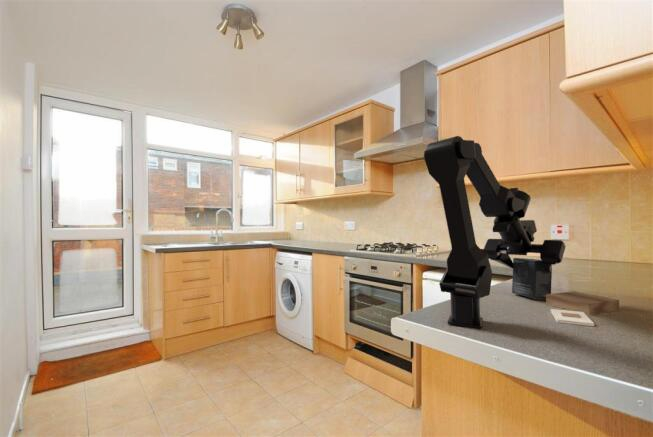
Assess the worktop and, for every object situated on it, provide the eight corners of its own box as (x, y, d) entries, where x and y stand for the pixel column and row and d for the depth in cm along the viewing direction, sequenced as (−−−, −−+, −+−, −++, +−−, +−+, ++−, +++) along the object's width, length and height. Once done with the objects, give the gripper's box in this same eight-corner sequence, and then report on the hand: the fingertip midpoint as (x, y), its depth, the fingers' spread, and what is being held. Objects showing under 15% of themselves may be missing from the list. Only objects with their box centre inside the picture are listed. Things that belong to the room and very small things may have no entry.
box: (551, 299, 83) (552, 261, 83) (533, 299, 82) (535, 260, 82) (527, 293, 91) (529, 258, 91) (511, 293, 90) (512, 257, 90)
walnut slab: (589, 314, 69) (588, 303, 69) (546, 304, 78) (545, 294, 79) (619, 310, 72) (619, 299, 72) (574, 300, 81) (574, 291, 81)
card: (594, 326, 61) (594, 322, 61) (557, 322, 64) (557, 318, 64) (583, 314, 69) (583, 311, 69) (550, 311, 72) (550, 308, 72)
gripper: (561, 208, 76) (577, 249, 82) (485, 211, 91) (504, 246, 98) (550, 241, 71) (568, 282, 78) (473, 239, 86) (493, 273, 93)
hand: (530, 268), depth 87 cm, fingers closed on box, 9 cm apart
